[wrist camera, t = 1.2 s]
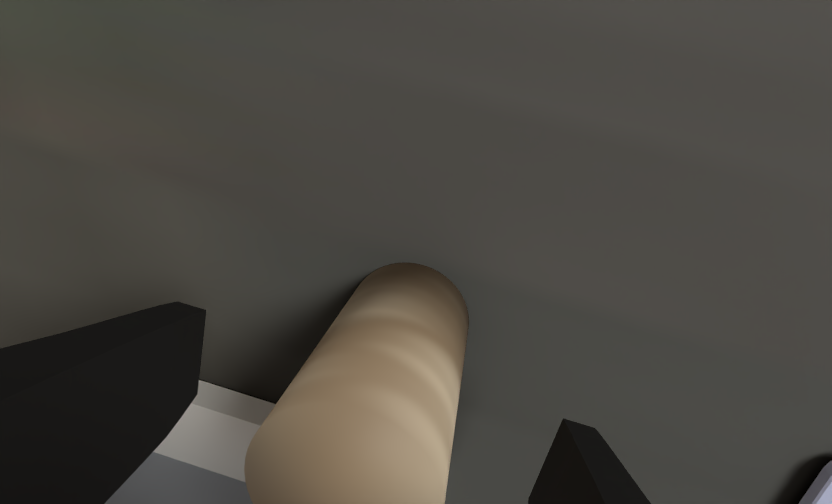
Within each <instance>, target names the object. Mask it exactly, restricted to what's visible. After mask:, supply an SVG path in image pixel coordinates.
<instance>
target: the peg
mask: <svg viewBox="0 0 832 504" xmlns="http://www.w3.org/2000/svg"><path fill="white" fill-rule="evenodd" d="M468 326H469V316H468V311H467V307H466V304H465V301H464V299H463V297H462V295H461V293H460V292H459V290H458V289H457V288H456V286H455V285H454V284H453V283H452V282H451V281H450V280H449V279H448V278H446V277H445V276H444V275H442V274H441V273H439V272H438V271H436V270H434V269H432V268H429V267H427V266H424V265H420V264H415V263H395V264H390V265H387V266H383V267H381V268H379V269H377V270H375V271H374V272H372V273H370V274H369V275H368V276H367V277H366V278H365V279H364V280H363V281H362V282H361V283H360V285H359V286H358V288H357V289H356V290H355V292H354V293H353V295H352V296H351V298H350V299H349V300H348V302H347V303H346V305H345V306H344V308H343V309H342V310H341V312H340V313H339V315H338V316H337V318H336V319H335V320H334V322H333V323H332V325H331V326H330V328H329V329H328V330H327V332H326V333H325V335H324V336H323V338H322V339H321V340H320V342H319V343H318V345H317V346H316V348H315V349H314V350H313V352H312V353H311V355H310V356H309V358H308V359H307V361H306V362H305V363H304V365H303V366H302V368H301V369H300V371H299V372H298V373H297V375H296V376H295V378H294V379H293V381H292V382H291V383H290V385H289V386H288V388H287V389H286V391H285V392H284V393H283V395H282V396H281V398H280V399H279V401H278V402H277V403H276V405H275V406H274V408H273V409H272V411H271V412H270V413H269V415H268V416H267V418H266V419H265V421H264V422H263V424H262V425H261V426H260V428H259V429H258V431H257V432H256V434H255V435H254V437H253V438H252V440H251V442H250V444H249V447H248V449H247V453H246V457H245V466H244V472H245V482H246V486H247V490H248V493H249V495H250V498H251V501H252V503H253V504H444V503H445V496H446V488H447V481H448V474H449V466H450V459H451V452H452V445H453V437H454V430H455V423H456V415H457V408H458V401H459V393H460V386H461V379H462V371H463V364H464V357H465V349H466V342H467V335H468Z"/></svg>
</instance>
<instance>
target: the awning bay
mask: <svg viewBox="0 0 832 504" xmlns="http://www.w3.org/2000/svg"><path fill="white" fill-rule="evenodd" d="M275 405H276V404H274V403H270V402H267V401H264V400H261V399H258V398H255V397H252V396H248V395H245V394H242V393H239V392H236V391H233V390H229V389H226V388H223V387H220V386H217V385H214V384H211V383H207V382H204V381H201V380H199V384H198V393H197V396H196V397H195V398H194V400H193V401H192V403H191V404H190V406H189V407H188V408H187V410H186V411H185V413H184V414H183V416H182V417H181V418H180V420H179V421H178V422H177V424H176V425H175V426H174V428H173V429H172V430H171V432H170V433H169V434H168V436H167V437H166V438H165V439H164V440H163V441H162V443H161V444H160V445H159V446H158V447H157V448H156V449H155V450H154V451H153V452H152V453H151V455H150V456H149V457H148V458H147V459H146V460H145V461H144V462H143V463H142V464H141V465H140V466H139V467H138V469H137V470H136V471H135V472H134V473H133V474H132V475H131V476H130V477H129V478H128V479H127V480H126V481H125V482H124V483H123V485H122V486H121V487H120V488H119V489H118V490H117V491H116V492H115V493H114V494H113V495H112V496H111V497H110V498H109V499H108V500H107V501H106V503H105V504H253V503H252V501H251V498H250V495H249V493H248V490H247V486H246V482H245V472H244V466H245V457H246V453H247V449H248V447H249V444H250V442H251V440H252V438H253V437H254V435H255V434H256V432H257V431H258V429H259V428H260V426H261V425H262V424H263V422H264V421H265V419H266V418H267V416H268V415H269V413H270V412H271V411H272V409H273V408H274V406H275Z"/></svg>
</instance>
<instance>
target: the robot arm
mask: <svg viewBox="0 0 832 504" xmlns="http://www.w3.org/2000/svg"><path fill="white" fill-rule="evenodd" d="M205 316H206V310H204V309H200V308H197V307H194V306H190V305H187V304H184V303H181V302H173V303H168V304H164V305H160V306H156V307H152V308H148V309H145V310H141V311H138V312H134V313H130V314H127V315H124V316H120V317H117V318H113V319H110V320H106V321H103V322H99V323H96V324H92V325H89V326H85V327H82V328H78V329H75V330H71V331H68V332H64V333H60V334H57V335H53V336H49V337H45V338H41V339H37V340H33V341H29V342H25V343H21V344H17V345H13V346H9V347H5V348H1V349H0V504H105V503H106V501H107V500H108V499H109V498H110V497H111V496H112V495H113V494H114V493H115V492H116V491H117V490H118V489H119V488H120V487H121V486H122V485H123V483H124V482H125V481H126V480H127V479H128V478H129V477H130V476H131V475H132V474H133V473H134V472H135V471H136V470H137V469H138V467H139V466H140V465H141V464H142V463H143V462H144V461H145V460H146V459H147V458H148V457H149V456H150V455H151V453H152V452H153V451H154V450H155V449H156V448H157V447H158V446H159V445H160V444H161V443H162V441H163V440H164V439H165V438H166V437H167V436H168V434H169V433H170V432H171V430H172V429H173V428H174V426H175V425H176V424H177V422H178V421H179V420H180V418H181V417H182V416H183V414H184V413H185V411H186V410H187V408H188V407H189V406H190V404H191V403H192V401H193V400H194V398H195V397H196V396H197V393H198V384H199V374H200V365H201V355H202V345H203V336H204V326H205ZM528 504H651V503H650V502H649V500H648V499H647V498H646V496H645V495H644V494H643V492H642V491H641V490H640V488H639V487H638V485H637V484H636V483H635V481H634V480H633V479H632V477H631V476H630V474H629V473H628V472H627V470H626V469H625V468H624V466H623V465H622V463H621V462H620V461H619V459H618V458H617V456H616V455H615V454H614V452H613V451H612V450H611V448H610V447H609V445H608V444H607V443H606V441H605V440H604V439H603V437H602V436H601V435H600V434H599V432H598V431H597V430H596V429H595V428H593V427H589V426H586V425H583V424H580V423H576V422H573V421H570V420H566V419H563V420H562V422H561V425H560V427H559V429H558V432H557V434H556V436H555V439H554V441H553V443H552V446H551V448H550V450H549V452H548V455H547V457H546V459H545V462H544V464H543V466H542V469H541V471H540V473H539V476H538V478H537V480H536V483H535V485H534V487H533V490H532V492H531V494H530V497H529V501H528ZM799 504H832V461H830V462H829V463H828V464H827V465H825V466H824V467H823V469H822V470H821V472H820V473H819V475H818V476H817V478H816V479H815V480H814V482H813V483H812V485H811V486H810V488H809V489H808V491H807V492H806V493H805V495H804V496H803V498H802V499H801V501H800V502H799Z"/></svg>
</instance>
